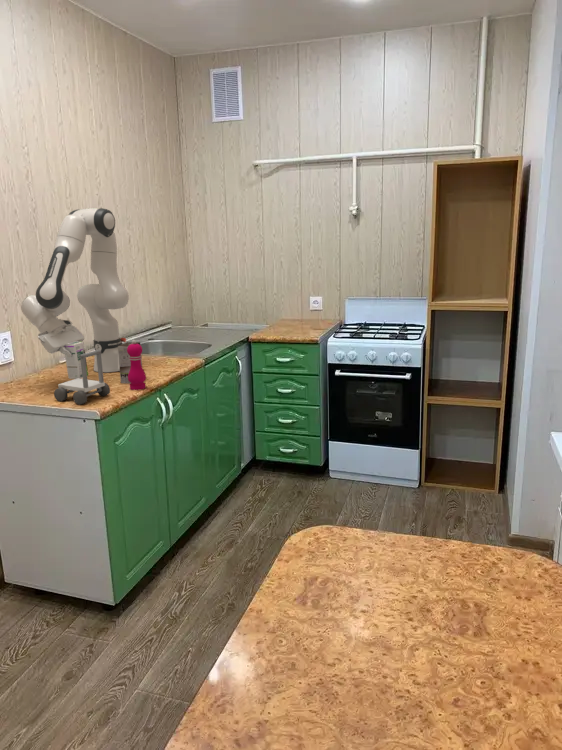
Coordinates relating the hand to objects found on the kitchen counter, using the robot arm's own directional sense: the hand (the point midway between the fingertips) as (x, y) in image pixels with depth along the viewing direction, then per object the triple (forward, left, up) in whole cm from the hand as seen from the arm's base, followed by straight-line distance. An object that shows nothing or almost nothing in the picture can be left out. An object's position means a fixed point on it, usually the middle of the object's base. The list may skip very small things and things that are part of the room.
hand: (76, 354), depth 236 cm
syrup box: (0, -1, -10) cm, 10 cm away
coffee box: (-17, +12, -14) cm, 26 cm away
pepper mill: (-9, +22, -14) cm, 28 cm away
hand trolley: (+11, +12, -14) cm, 22 cm away
